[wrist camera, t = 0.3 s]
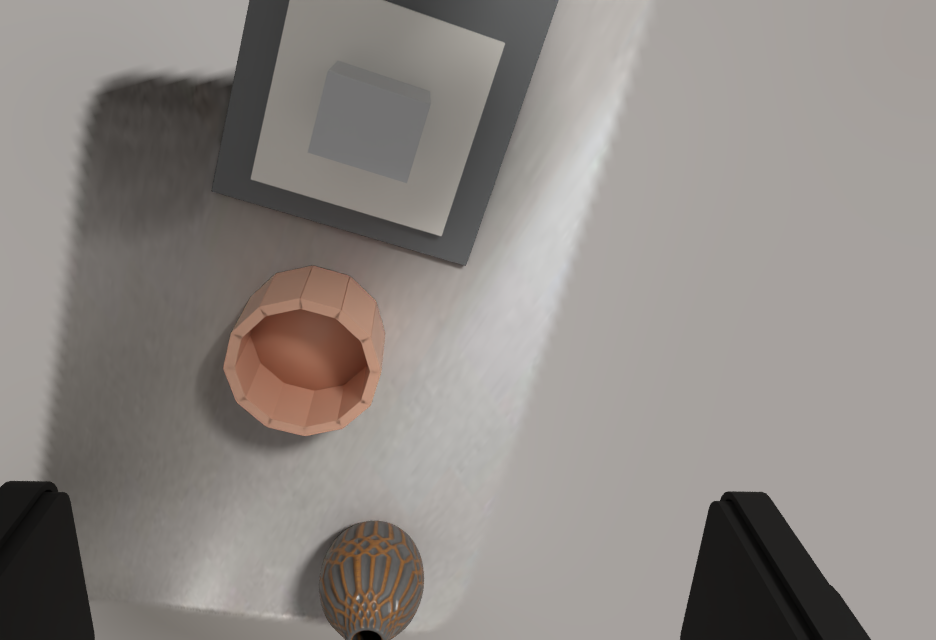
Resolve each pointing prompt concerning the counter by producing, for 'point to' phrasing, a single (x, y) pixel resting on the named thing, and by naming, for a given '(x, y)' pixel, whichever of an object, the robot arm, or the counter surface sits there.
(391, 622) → the vase
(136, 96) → the counter surface
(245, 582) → the counter surface
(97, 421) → the counter surface
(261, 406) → the bowl
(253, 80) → the mat
